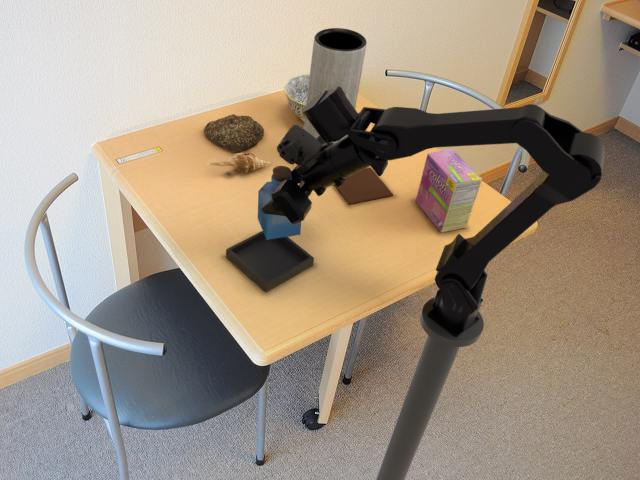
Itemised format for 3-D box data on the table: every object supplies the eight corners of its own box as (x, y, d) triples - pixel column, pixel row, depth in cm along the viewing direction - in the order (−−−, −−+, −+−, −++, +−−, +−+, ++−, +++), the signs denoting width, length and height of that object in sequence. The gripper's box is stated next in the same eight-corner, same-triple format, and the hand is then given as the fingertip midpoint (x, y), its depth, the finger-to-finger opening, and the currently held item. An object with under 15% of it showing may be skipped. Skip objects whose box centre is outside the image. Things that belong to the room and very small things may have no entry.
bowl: (272, 104, 159) (275, 76, 154) (334, 97, 162) (338, 69, 157) (294, 140, 148) (297, 110, 143) (359, 132, 151) (364, 103, 146)
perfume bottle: (290, 213, 121) (294, 158, 113) (300, 234, 116) (305, 179, 108) (257, 218, 120) (259, 163, 111) (266, 239, 115) (269, 184, 107)
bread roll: (230, 158, 142) (231, 138, 138) (196, 132, 149) (196, 113, 145) (275, 138, 148) (276, 119, 145) (240, 115, 155) (241, 96, 151)
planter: (292, 150, 145) (305, 31, 126) (331, 141, 148) (350, 24, 129) (313, 175, 138) (330, 54, 120) (354, 165, 141) (377, 46, 123)
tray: (313, 265, 118) (314, 257, 117) (265, 292, 113) (266, 284, 112) (272, 233, 124) (273, 225, 123) (225, 257, 119) (226, 249, 118)
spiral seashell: (256, 156, 143) (257, 139, 140) (271, 167, 140) (272, 149, 137) (205, 177, 137) (205, 159, 134) (219, 189, 134) (219, 170, 131)
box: (414, 201, 133) (427, 152, 125) (438, 196, 134) (453, 148, 126) (440, 233, 126) (456, 184, 118) (465, 228, 127) (483, 179, 119)
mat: (392, 196, 134) (393, 194, 134) (348, 205, 131) (349, 203, 131) (370, 168, 141) (370, 167, 141) (327, 176, 138) (328, 175, 138)
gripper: (331, 92, 107) (266, 134, 118) (288, 149, 95) (219, 189, 106) (370, 146, 110) (303, 181, 121) (333, 207, 98) (262, 241, 109)
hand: (273, 196), depth 114 cm, fingers closed on perfume bottle, 9 cm apart
